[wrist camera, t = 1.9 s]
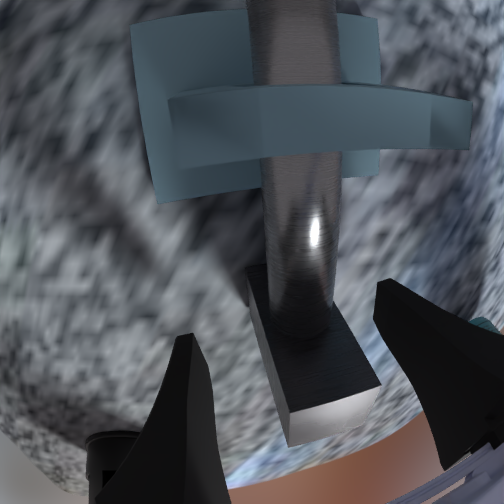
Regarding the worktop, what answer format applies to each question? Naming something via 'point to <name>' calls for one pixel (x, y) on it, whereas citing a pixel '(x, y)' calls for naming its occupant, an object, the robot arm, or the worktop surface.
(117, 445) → the french press
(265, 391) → the worktop surface
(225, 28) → the eye bracket
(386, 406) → the worktop surface
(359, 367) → the hook rod
